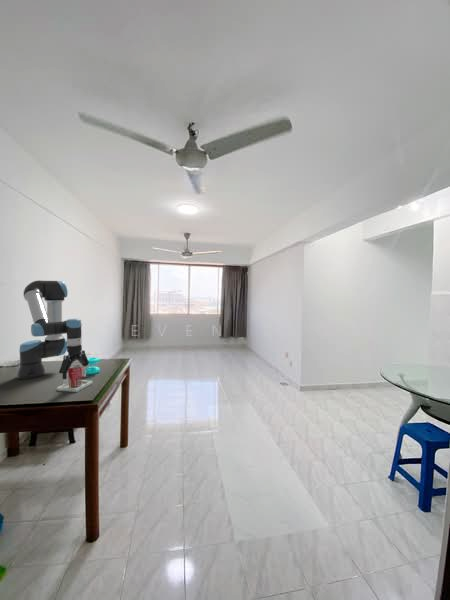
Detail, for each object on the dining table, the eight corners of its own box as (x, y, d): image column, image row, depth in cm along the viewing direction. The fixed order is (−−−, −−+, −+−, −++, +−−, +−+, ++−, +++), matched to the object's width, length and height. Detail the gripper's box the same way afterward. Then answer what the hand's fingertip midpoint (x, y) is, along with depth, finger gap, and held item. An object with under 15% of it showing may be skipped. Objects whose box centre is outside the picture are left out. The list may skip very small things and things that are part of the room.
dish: (56, 390, 144) (56, 387, 144) (74, 382, 157) (74, 379, 157) (76, 392, 142) (76, 389, 142) (92, 383, 155) (92, 381, 155)
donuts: (80, 360, 171) (89, 356, 181) (80, 374, 171) (89, 370, 181) (93, 360, 170) (102, 357, 180) (94, 375, 170) (102, 370, 180)
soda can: (72, 384, 153) (71, 364, 152) (84, 383, 153) (83, 364, 153) (65, 388, 146) (65, 368, 145) (78, 388, 146) (78, 368, 146)
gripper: (62, 350, 136) (63, 388, 137) (94, 340, 160) (95, 373, 161) (50, 349, 137) (51, 387, 138) (84, 340, 162) (85, 372, 162)
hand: (75, 380), depth 149 cm, fingers open, 13 cm apart
